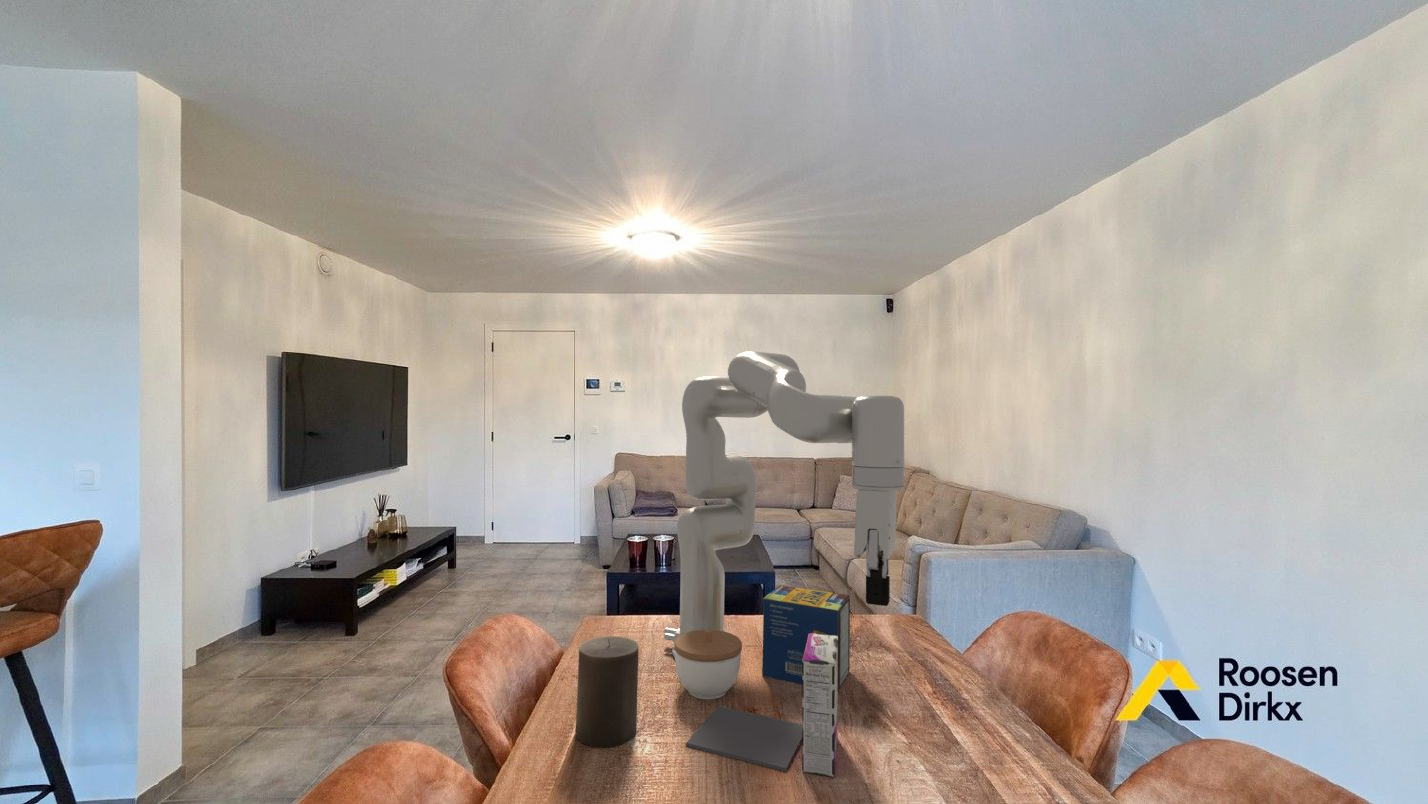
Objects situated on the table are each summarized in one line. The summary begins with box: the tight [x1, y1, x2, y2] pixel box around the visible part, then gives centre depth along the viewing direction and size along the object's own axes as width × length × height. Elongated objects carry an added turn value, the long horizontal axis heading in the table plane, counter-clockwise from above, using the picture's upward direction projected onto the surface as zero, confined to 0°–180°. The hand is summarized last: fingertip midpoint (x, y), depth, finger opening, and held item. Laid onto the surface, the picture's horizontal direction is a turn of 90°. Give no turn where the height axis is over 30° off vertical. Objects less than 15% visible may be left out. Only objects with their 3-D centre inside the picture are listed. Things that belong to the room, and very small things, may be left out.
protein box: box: [761, 584, 851, 691], centre depth 119 cm, size 10×15×16 cm
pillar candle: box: [575, 635, 640, 748], centre depth 96 cm, size 10×10×15 cm
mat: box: [685, 705, 802, 773], centre depth 95 cm, size 16×13×1 cm
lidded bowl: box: [674, 630, 743, 701], centre depth 111 cm, size 13×13×11 cm
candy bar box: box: [801, 633, 839, 778], centre depth 91 cm, size 11×5×16 cm, turn 166°
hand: (877, 603), depth 88 cm, fingers closed
